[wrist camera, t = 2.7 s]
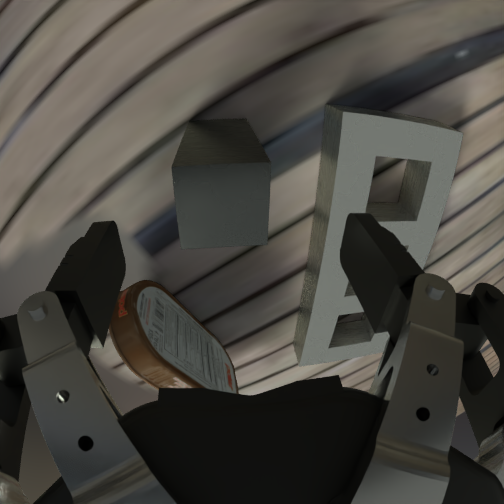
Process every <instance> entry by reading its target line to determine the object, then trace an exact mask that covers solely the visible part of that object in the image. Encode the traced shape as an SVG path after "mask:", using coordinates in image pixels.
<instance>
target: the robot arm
mask: <svg viewBox="0 0 504 504" xmlns="http://www.w3.org/2000/svg"><path fill="white" fill-rule="evenodd" d="M340 263H341V266H342V269H343V270H344V272H345V274H346V276H347V278H348V280H349V282H350V284H351V286H352V288H353V290H354V292H355V294H356V296H357V298H358V300H359V302H360V304H361V306H362V308H363V310H364V312H365V314H366V316H367V318H368V321H369V323H370V325H371V327H372V329H373V331H374V333H375V334H377V333H383V332H388V333H389V335H390V336H389V338H388V340H387V343H386V346H385V349H384V352H383V355H382V358H381V361H380V363H379V366H378V369H377V372H376V375H375V377H374V380H373V383H372V385H371V387H370V389H369V391H368V392H365V391H362V390H358V389H353V388H348V387H342V384H341V381H340V378H339V375H336V376H329V377H323V378H316V379H309V380H301V381H296V382H293V383H290V384H287V385H284V386H281V387H278V388H275V389H272V390H269V391H266V392H263V393H260V394H257V395H251V396H249V395H242V394H235V393H229V392H223V391H218V390H213V389H207V388H159V395H158V400H157V401H154V402H150V403H147V404H144V405H141V406H139V407H137V408H135V409H133V410H131V411H130V412H128V413H126V414H125V415H123V413H122V412H121V410H119V408H118V406H117V404H116V403H115V401H114V400H113V398H112V396H111V395H110V393H109V391H108V390H107V388H106V386H105V385H104V383H103V381H102V380H101V378H100V376H99V374H98V372H97V370H96V368H95V367H94V365H93V363H92V361H91V359H90V357H89V356H88V355H89V351H90V348H103V347H104V343H105V340H106V336H107V332H108V329H109V325H110V322H111V318H112V315H113V311H114V308H115V305H116V302H117V298H118V295H119V292H120V289H121V286H122V283H123V280H124V277H125V271H126V264H125V257H124V254H123V249H122V245H121V241H120V237H119V233H118V228H117V225H116V223H115V222H114V221H103V222H94V223H93V224H92V225H91V227H90V228H89V230H88V231H87V233H86V235H85V236H84V237H81V238H79V239H78V240H77V241H76V242H75V243H74V244H72V245H71V246H70V248H69V250H68V251H67V253H66V255H65V258H63V260H62V261H61V263H60V266H58V268H57V270H56V272H55V273H54V275H53V277H52V279H51V281H50V282H49V284H48V286H47V288H46V290H45V291H42V292H38V293H35V294H33V295H31V296H30V297H28V298H27V299H26V300H25V301H24V302H23V303H22V304H21V306H20V307H19V309H18V312H17V314H15V315H11V316H8V317H4V318H0V504H30V503H29V500H28V498H27V497H26V496H25V495H24V494H23V491H22V488H21V486H20V484H19V483H18V482H19V472H20V463H21V455H22V448H23V442H24V435H25V430H26V425H27V420H28V415H29V410H30V406H31V404H32V407H33V409H34V412H35V415H36V418H37V421H38V423H39V426H40V429H41V431H42V434H43V436H44V439H45V441H46V443H47V446H48V448H49V450H50V452H51V455H52V457H53V459H54V461H55V463H56V465H57V467H58V470H59V472H60V473H61V477H60V478H59V479H58V480H57V481H56V482H55V483H54V484H53V485H52V486H51V487H50V488H49V489H48V490H46V492H44V493H43V494H42V495H41V496H40V497H39V498H38V499H37V500H36V501H35V502H34V503H33V504H504V295H503V293H502V292H501V291H500V290H499V289H497V288H496V287H494V286H493V285H490V284H487V283H479V284H477V285H476V286H475V288H474V290H473V292H472V294H471V295H466V294H459V293H455V290H454V288H453V287H452V285H451V284H450V283H449V282H448V281H446V280H445V279H444V278H442V277H440V276H438V275H435V274H430V273H425V272H424V271H423V270H422V268H421V267H420V266H419V265H418V263H417V262H416V261H415V259H414V258H413V257H412V256H411V254H410V253H409V252H407V249H406V248H405V247H404V246H403V244H401V242H400V241H399V239H398V238H397V237H396V236H395V235H394V234H393V233H392V232H390V231H389V230H387V229H386V228H384V227H383V226H381V225H380V224H379V223H378V222H377V220H376V219H375V218H374V217H373V216H372V215H371V214H370V213H349V214H348V216H347V219H346V224H345V229H344V234H343V238H342V243H341V248H340ZM487 339H488V340H489V342H490V343H491V345H492V347H493V349H494V350H495V352H496V354H497V356H498V358H499V361H500V368H499V371H498V373H497V374H496V376H495V377H494V378H493V376H492V374H491V372H490V370H489V368H488V366H487V364H486V362H485V360H484V358H483V356H482V354H481V353H480V351H479V350H480V349H481V347H482V346H483V345H484V343H485V342H486V340H487ZM459 397H460V399H461V401H462V404H463V406H464V409H465V411H466V414H467V416H468V419H469V421H470V424H471V427H472V429H473V432H474V435H475V437H476V440H477V443H478V446H479V456H477V457H476V458H475V459H474V460H472V459H471V458H469V457H468V456H466V455H464V454H463V453H461V452H460V451H458V450H457V449H455V448H453V447H452V446H451V445H450V443H451V439H452V434H453V429H454V424H455V419H456V413H457V407H458V400H459Z"/></svg>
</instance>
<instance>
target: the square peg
mask: <svg viewBox="0 0 504 504" xmlns="http://www.w3.org/2000/svg"><path fill="white" fill-rule="evenodd" d="M172 176H173V186H174V196H175V205H176V213H177V222H178V230H179V237H180V245H181V249H196V248H214V247H232V246H251V245H267V239H268V220H269V200H270V179H271V161H270V160H269V158H268V156H267V154H266V152H265V151H264V149H263V147H262V145H261V143H260V142H259V140H258V138H257V136H256V135H255V133H254V131H253V129H252V128H251V126H250V124H249V123H248V121H247V119H213V120H195V121H189V123H188V125H187V128H186V130H185V133H184V135H183V138H182V140H181V143H180V146H179V148H178V151H177V154H176V156H175V159H174V162H173V165H172Z"/></svg>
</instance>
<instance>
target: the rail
mask: <svg viewBox="0 0 504 504" xmlns="http://www.w3.org/2000/svg"><path fill="white" fill-rule="evenodd" d="M462 137H463V133H462V132H460V131H458V130H456V129H454V128H451V127H449V126H447V125H445V124H443V123H440V122H437V121H432V120H428V119H423V118H419V117H414V116H409V115H403V114H398V113H392V112H386V111H380V110H373V109H366V108H358V107H350V106H341V105H331V104H326V106H325V119H324V130H323V140H322V151H321V160H320V169H319V178H318V187H317V195H316V203H315V211H314V218H313V226H312V233H311V240H310V247H309V254H308V260H307V267H306V273H305V280H304V286H303V292H302V298H301V304H300V309H299V315H298V321H297V326H296V331H295V337H294V342H293V346H294V349H295V353H296V357H297V361H298V364H299V366H307V365H314V364H320V363H327V362H333V361H339V360H345V359H350V358H356V357H361V356H366V355H371V354H376V353H381V352H384V349H385V346H386V343H387V340H388V338H389V336H390V335H389V333H388V332H383V333H377V334H375V333H374V331H373V329H372V327H371V325H370V323H369V321H368V318H367V316H366V314H365V312H364V310H363V308H362V306H361V304H360V302H359V300H358V298H357V296H356V294H355V292H354V290H353V288H352V286H351V284H350V282H349V280H348V278H347V276H346V274H345V272H344V270H343V269H342V266H341V263H340V248H341V243H342V238H343V234H344V229H345V224H346V219H347V216H348V214H349V213H370V214H371V215H372V216H373V217H374V218H375V219H376V220H377V222H378V223H379V224H380V225H381V226H383V227H384V228H386V229H387V230H389V231H390V232H392V233H393V234H394V235H395V236H396V237H397V238H398V239H399V241H400V242H401V244H403V246H404V247H405V248H406V249H407V252H409V253H410V254H411V256H412V257H413V258H414V259H415V261H416V262H417V263H418V265H419V266H420V267H421V268H422V270H423V268H424V265H425V263H426V260H427V257H428V255H429V252H430V249H431V247H432V244H433V241H434V238H435V236H436V233H437V230H438V227H439V224H440V221H441V218H442V215H443V211H444V208H445V205H446V202H447V198H448V195H449V191H450V188H451V184H452V180H453V176H454V172H455V168H456V164H457V160H458V156H459V151H460V147H461V142H462ZM376 156H382V157H393V158H403V159H408V160H407V165H406V170H405V175H404V179H403V184H402V188H401V193H400V197H399V201H398V203H367V202H368V197H369V192H370V186H371V181H372V176H373V170H374V164H375V159H376ZM359 312H364V315H363V317H362V320H360V321H353V322H346V323H339V324H336V322H337V319H338V316H339V315H344V314H351V313H359Z"/></svg>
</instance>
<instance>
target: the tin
mask: <svg viewBox="0 0 504 504" xmlns="http://www.w3.org/2000/svg"><path fill="white" fill-rule="evenodd" d="M109 332H110V336H111V339H112V342H113V344H114V346H115V348H116V350H117V352H118V354H119V355H120V357H121V359H122V360H123V361H124V363H125V364H126V365H127V367H128V368H129V369H130V370H131V371H132V372H133V373H134V374H135V375H136V376H138V377H139V378H140V379H142V380H143V381H145V382H146V383H148V384H149V385H151V386H153V387H154V388H156V389H157V390H159V388H207V389H213V390H218V391H223V392H229V393H235V394H239V392H238V385H237V380H236V376H235V369H234V366H233V364H232V361H231V359H230V357H229V355H228V354H227V352H226V350H225V349H224V347H223V346H222V344H221V343H220V342H219V341H218V339H217V338H216V337H215V336H214V335H213V334H212V333H211V332H210V331H209V330H208V329H206V328H205V327H204V326H203V325H202V324H201V323H200V322H199V321H198V320H197V319H196V318H195V317H194V316H193V315H192V314H191V313H190V312H189V311H188V310H187V309H186V308H185V307H184V306H183V305H182V304H181V303H180V302H179V301H178V300H177V299H176V298H175V297H174V296H173V295H172V294H171V293H170V292H168V291H167V290H166V289H165V288H164V287H162V286H161V285H159V284H158V283H156V282H153V281H150V280H142V281H139V282H137V283H135V284H133V285H131V286H130V287H128V288H126V289H125V290H123V291H120V292H119V295H118V298H117V302H116V305H115V308H114V311H113V315H112V318H111V322H110V325H109Z"/></svg>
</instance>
